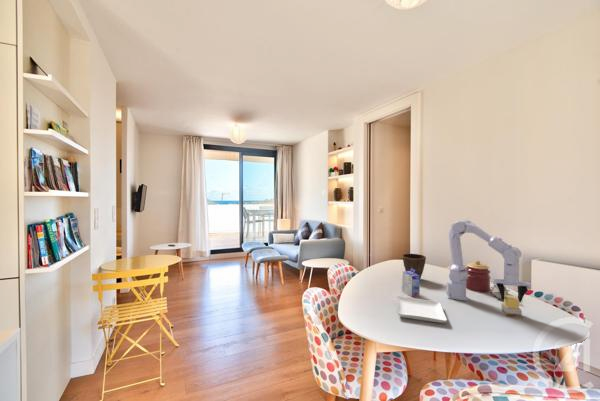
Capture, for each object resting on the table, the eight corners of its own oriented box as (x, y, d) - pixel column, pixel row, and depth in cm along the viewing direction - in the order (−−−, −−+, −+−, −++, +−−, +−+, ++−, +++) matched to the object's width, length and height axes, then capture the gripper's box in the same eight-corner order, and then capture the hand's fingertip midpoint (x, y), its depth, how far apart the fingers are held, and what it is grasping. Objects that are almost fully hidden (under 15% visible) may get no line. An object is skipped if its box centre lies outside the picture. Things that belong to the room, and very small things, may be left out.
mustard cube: (507, 307, 125) (507, 298, 125) (503, 304, 129) (503, 295, 129) (518, 309, 123) (518, 299, 123) (515, 305, 127) (515, 296, 127)
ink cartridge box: (420, 296, 149) (420, 271, 148) (411, 297, 148) (411, 272, 147) (409, 290, 158) (409, 266, 158) (401, 291, 157) (401, 267, 157)
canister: (493, 289, 158) (494, 261, 158) (484, 294, 151) (485, 264, 151) (470, 283, 169) (470, 256, 169) (461, 287, 162) (461, 259, 161)
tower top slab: (506, 312, 124) (506, 308, 124) (501, 307, 130) (501, 303, 130) (521, 314, 122) (521, 310, 122) (516, 309, 128) (516, 305, 128)
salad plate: (447, 327, 115) (448, 320, 115) (397, 319, 122) (397, 312, 122) (439, 307, 135) (440, 301, 135) (396, 302, 142) (396, 295, 142)
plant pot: (413, 283, 169) (413, 259, 169) (397, 277, 183) (397, 254, 183) (430, 281, 175) (431, 257, 174) (413, 274, 188) (413, 252, 188)
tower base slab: (505, 317, 124) (505, 312, 124) (501, 312, 130) (501, 307, 130) (521, 319, 122) (521, 315, 122) (516, 314, 127) (516, 309, 127)
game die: (504, 306, 144) (516, 296, 138) (488, 299, 145) (499, 289, 139) (499, 293, 151) (511, 283, 145) (484, 287, 152) (495, 277, 146)
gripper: (495, 273, 125) (495, 300, 125) (534, 276, 119) (533, 305, 119) (491, 269, 131) (491, 295, 132) (527, 272, 126) (527, 300, 126)
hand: (511, 300), depth 126 cm, fingers open, 6 cm apart
